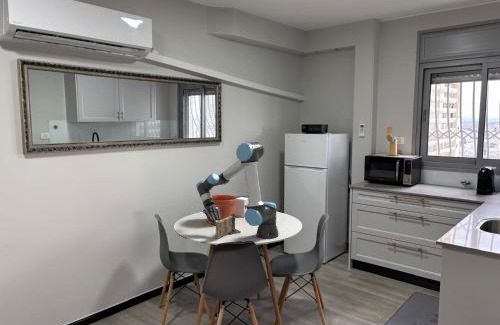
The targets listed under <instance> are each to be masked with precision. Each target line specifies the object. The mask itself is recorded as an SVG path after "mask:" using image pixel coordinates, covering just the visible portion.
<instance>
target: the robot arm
mask: <svg viewBox="0 0 500 325" xmlns="http://www.w3.org/2000/svg"><path fill="white" fill-rule="evenodd" d="M235 154H236V157H237V160H236V161H235V162H234V163H233V164H231V165H230V166H229V167H227V168H226V169H225V170H224V171H222V172H221V173H219V174H217V173H214V172H212V173H210V174H208V176H207V177H206V178H205V180H200V181H199V182H197V183H196V186H195V187H196V189H197V192H198V194H199V197H200V200H201V202H202V205H203V207H204V208H203V211H202V213H203V214H204V215H205V217H206V219H207V218H208V219H209V221H210V222H212V223H214V224H213V226H215V227H216V222H217V221H220V219H221V216H220V207H216V206H215V204H214V201H213V199H212V196H211V195H212V194H211V192H210V191H211V190H212V189H213V188H214V187H216V186H222V185H226V184H229V183H230V181H231V179H232V178H234V177H235V176H237V175H238V174H240V172H242V171H244V177H245V178H244V179H245V187H246V193H247V194H246V195H247V198H248V204H247V211H246V212H245V217H244V220H245V222H246V223H247V224H248V225H249V226H251V227H257V229H256V237H257V238H260V239H269V240H270V239H276V238H278V237H279V229H278V227H277V204H276V203H275V202H270V201H269V202H268V201H263V200H262V194H261V188H260V178H259V171H258V164H259V160H260V159H262V157H263V156H264V154H265V147H264V146H263V144H262V143H260V142H258V141H251V142H249V141H248V142H247V141H246V142H243V143H240V144H239V145H238V146H237V148H236V152H235ZM215 209H216V210H215ZM207 211H208V212H209V213H208V212H207ZM216 211H217V214H216ZM214 217H215V218H214ZM215 220H216V221H215Z"/></svg>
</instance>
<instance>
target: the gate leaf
mask: <svg viewBox="0 0 500 325" xmlns="http://www.w3.org/2000/svg"><path fill="white" fill-rule="evenodd" d="M231 231H232V216H229V217H227V218H224V219H222V220H220V221H217V222H216V226H215V238H216V239H219V238H221V237H223V236H225V235H228V233H229V232H231Z"/></svg>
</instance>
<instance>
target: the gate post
mask: <svg viewBox="0 0 500 325" xmlns="http://www.w3.org/2000/svg"><path fill="white" fill-rule="evenodd" d="M230 216H232V231H231V232H229V233H227V235H236V234H240V233H241V230H239V229H237V228H236V216H235V213H230Z"/></svg>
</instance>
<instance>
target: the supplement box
mask: <svg viewBox="0 0 500 325" xmlns="http://www.w3.org/2000/svg"><path fill="white" fill-rule="evenodd" d="M247 204H248V197H245V196H243V197H242V196H240V197H237V202H236V207H235V217H239V218H245V212H246V211H247Z"/></svg>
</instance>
